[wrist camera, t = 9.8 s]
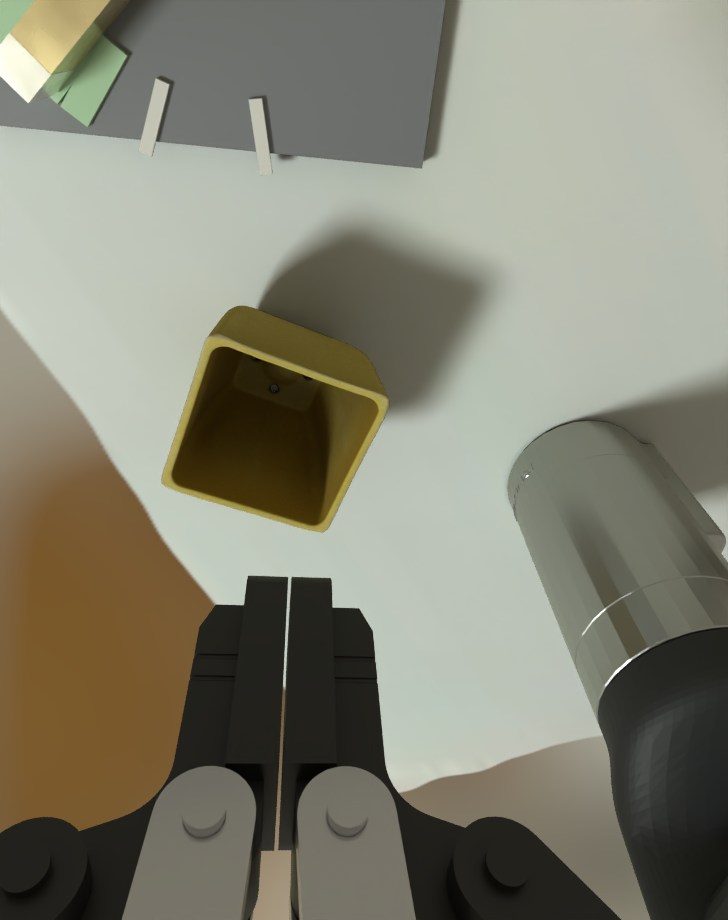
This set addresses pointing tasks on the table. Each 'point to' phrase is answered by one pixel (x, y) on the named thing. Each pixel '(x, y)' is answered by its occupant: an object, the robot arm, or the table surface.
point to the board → (252, 78)
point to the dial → (53, 43)
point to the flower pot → (275, 420)
